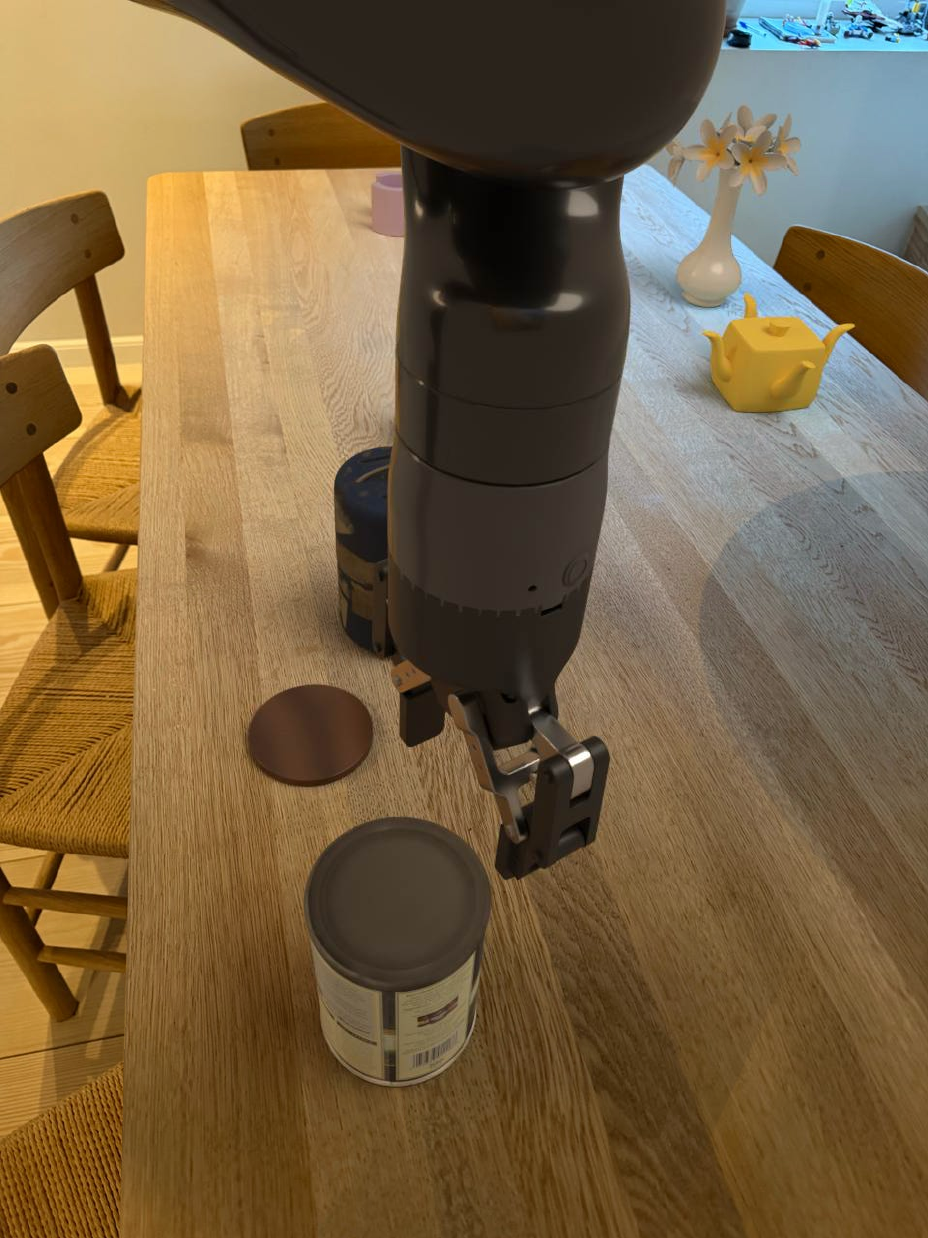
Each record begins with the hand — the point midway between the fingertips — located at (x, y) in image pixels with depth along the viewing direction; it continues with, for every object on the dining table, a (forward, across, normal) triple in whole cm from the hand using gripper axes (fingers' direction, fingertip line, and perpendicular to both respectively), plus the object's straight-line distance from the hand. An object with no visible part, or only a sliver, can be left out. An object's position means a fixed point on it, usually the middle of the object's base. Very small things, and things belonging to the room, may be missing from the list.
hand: (467, 798), depth 45 cm
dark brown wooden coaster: (+24, -25, +3) cm, 35 cm away
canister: (+24, -33, +15) cm, 44 cm away
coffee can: (+24, -2, -2) cm, 24 cm away
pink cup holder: (+24, -108, +65) cm, 128 cm away
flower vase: (+24, -70, +87) cm, 114 cm away
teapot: (+24, -47, +76) cm, 92 cm away
